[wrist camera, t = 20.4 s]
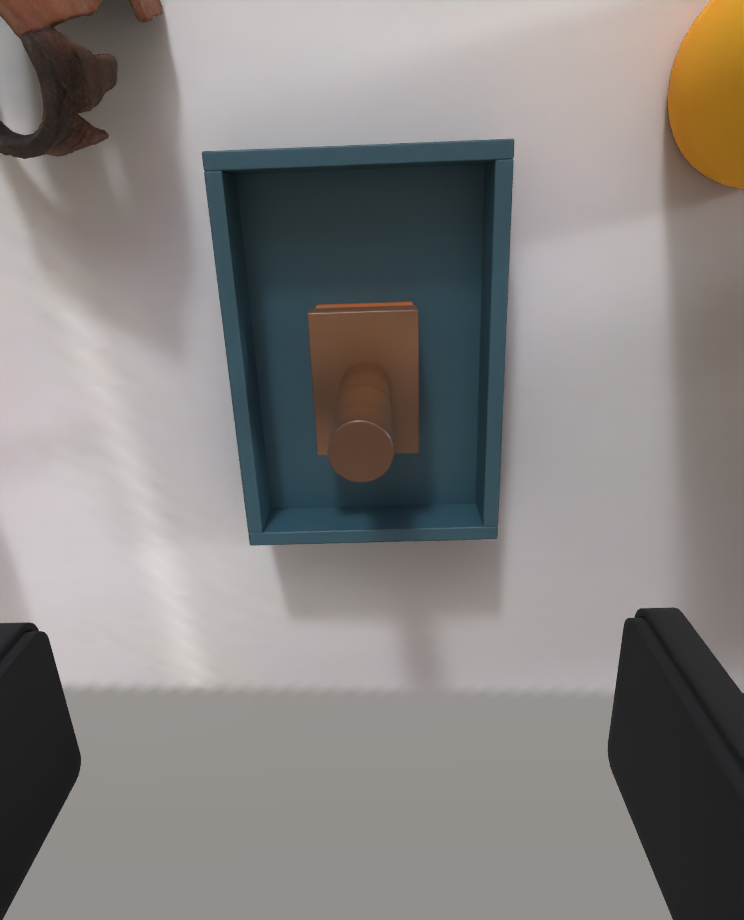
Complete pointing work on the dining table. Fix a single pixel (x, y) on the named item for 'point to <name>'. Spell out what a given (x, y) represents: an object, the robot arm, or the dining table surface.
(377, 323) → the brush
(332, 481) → the tray
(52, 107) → the brown twisted loop
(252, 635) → the dining table surface
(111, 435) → the dining table surface
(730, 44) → the beer bottle
